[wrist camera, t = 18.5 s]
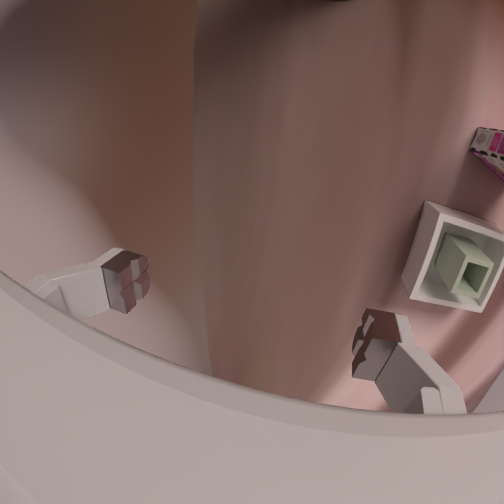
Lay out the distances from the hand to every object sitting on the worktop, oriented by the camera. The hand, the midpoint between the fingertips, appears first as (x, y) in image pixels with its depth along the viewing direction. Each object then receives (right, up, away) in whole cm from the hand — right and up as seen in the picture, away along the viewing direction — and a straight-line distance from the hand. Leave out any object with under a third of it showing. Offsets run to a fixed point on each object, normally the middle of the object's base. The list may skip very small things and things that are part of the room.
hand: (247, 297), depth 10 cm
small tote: (+34, +2, +28) cm, 44 cm away
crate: (+34, +2, +29) cm, 45 cm away
